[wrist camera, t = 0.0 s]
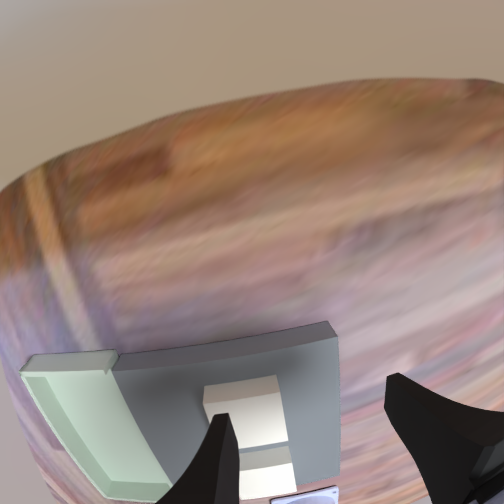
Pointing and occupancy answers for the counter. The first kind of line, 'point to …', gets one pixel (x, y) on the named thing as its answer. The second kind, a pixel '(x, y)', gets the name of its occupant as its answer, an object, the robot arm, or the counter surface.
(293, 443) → the board
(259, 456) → the tile
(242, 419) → the tile
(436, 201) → the counter surface
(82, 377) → the tray
